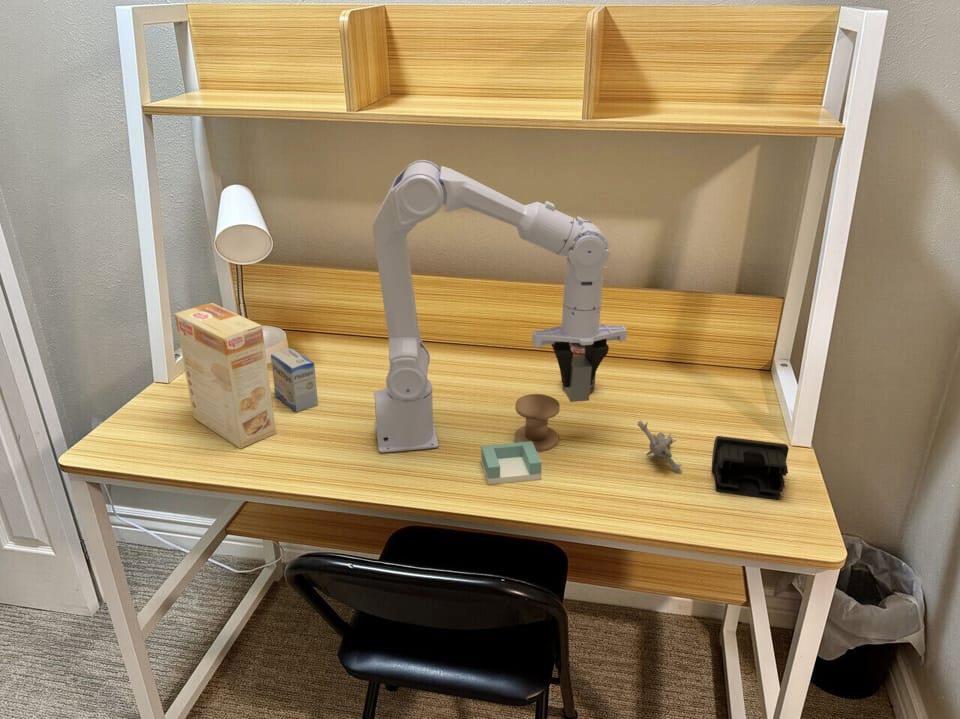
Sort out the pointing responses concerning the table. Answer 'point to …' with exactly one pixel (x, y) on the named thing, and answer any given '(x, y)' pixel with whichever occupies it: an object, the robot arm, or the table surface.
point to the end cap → (749, 467)
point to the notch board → (510, 462)
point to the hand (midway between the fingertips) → (576, 383)
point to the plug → (579, 379)
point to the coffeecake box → (226, 373)
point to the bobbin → (537, 420)
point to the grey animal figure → (660, 446)
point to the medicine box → (294, 379)
